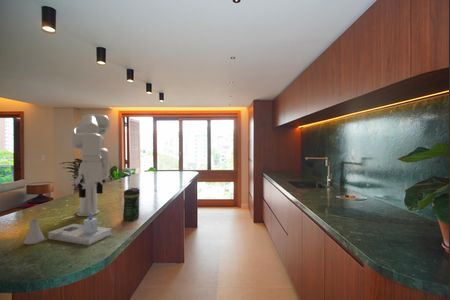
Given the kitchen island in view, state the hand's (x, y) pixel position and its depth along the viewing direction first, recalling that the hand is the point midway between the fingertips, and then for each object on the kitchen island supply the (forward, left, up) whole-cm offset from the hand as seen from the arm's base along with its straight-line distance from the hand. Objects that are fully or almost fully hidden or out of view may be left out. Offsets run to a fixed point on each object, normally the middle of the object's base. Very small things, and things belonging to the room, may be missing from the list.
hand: (91, 195), depth 109 cm
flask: (-21, -11, -21) cm, 31 cm away
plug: (0, 0, -20) cm, 20 cm away
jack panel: (-6, 0, -20) cm, 21 cm away
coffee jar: (-2, +31, -21) cm, 37 cm away
